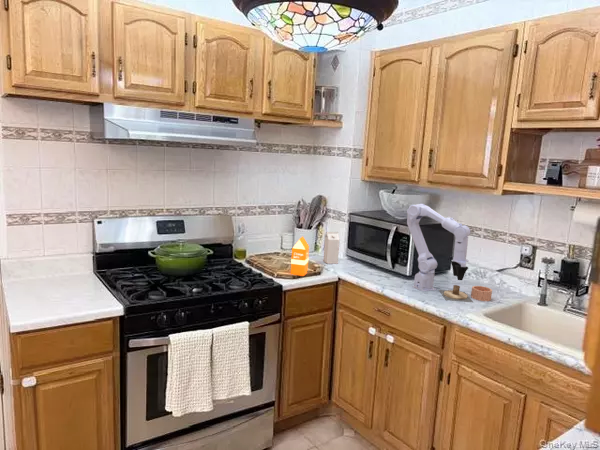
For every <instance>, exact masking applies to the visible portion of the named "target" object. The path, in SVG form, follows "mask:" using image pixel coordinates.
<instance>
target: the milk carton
mask: <svg viewBox="0 0 600 450" xmlns="http://www.w3.org/2000/svg"><path fill="white" fill-rule="evenodd" d="M340 240H341V239H340V236H339V232H338V231H327V232H326V234H325V236H324V247H323V262H324V263H326V264H329V265H330V264H331V265H333V264H334V265H336V264H337V265H338V264H339V255H340V254H339V253H340V252H339V251H340Z"/></svg>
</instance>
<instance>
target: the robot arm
mask: <svg viewBox="0 0 600 450" xmlns="http://www.w3.org/2000/svg"><path fill="white" fill-rule="evenodd" d="M406 213H407V218H406V219H407V220H406V224H407V227H408V230H409V232H410V233H409V234H410V236H411V237H412V240H413V243H414V247H415V249H416V251H417V254H418V257H417V262H418V264H417V265H418V266H417V267H418V269H419V271H418V272H417V273H415V275H414V281H413V286H412V288H414V289H417V290H419V291H421V292H429V291H436V290H437V288H436V287H434V280H435V273H436V272H435V269H437V267H438V262H437V259H436V258H435V257H434V255H433V254H432V253H431V252H430V251H429V248H428V245H427V243H426V240H425V238H424V234H423V232H422V229H421V226H420V224H419V223H420V221H421V219H422V218H423V217H429V218H431V219H433V220H434V221H436V222H438V223H440V224H441V227H442V228H444V229H445V230H447V231H448V232H449V233H452V234H453V236H454V238H455V240H454V241H455V242H454V250H453V258H452V260H450V264H451V267H452V274H453V277H456V278H457V281H463V280H464V277H465V274H466V272H467V271H468V270H469V266H467V263H468V262H469V260H468V259H467V253H468V241H469V236H470V234H471V229H470V228H469V226H468V225H465V224H464V225H463V223H462V222H459V221H456V220H455V218H453V217H449V216H448V217H445V216H443V215H442V214H440V213H439V212H437V211H436V210H434V209H432V208H431V207H430V206H429V205H425V203H417V204H414V203H413V204H410V205H409V207H408V208H407V210H406Z"/></svg>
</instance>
